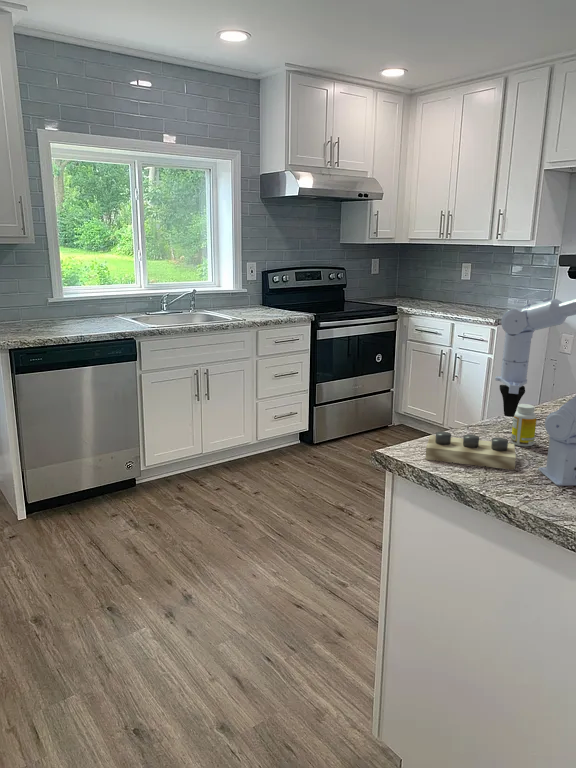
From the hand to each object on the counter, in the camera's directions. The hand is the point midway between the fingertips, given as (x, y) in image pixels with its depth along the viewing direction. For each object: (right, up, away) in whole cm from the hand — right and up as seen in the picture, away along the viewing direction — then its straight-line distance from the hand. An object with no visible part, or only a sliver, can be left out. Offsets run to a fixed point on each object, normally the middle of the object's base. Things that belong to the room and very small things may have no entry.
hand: (509, 415), depth 138 cm
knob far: (-15, -10, +4) cm, 18 cm away
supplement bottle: (+8, -8, +12) cm, 17 cm away
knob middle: (-9, -10, +2) cm, 14 cm away
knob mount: (-9, -10, +2) cm, 14 cm away
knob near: (-3, -11, 0) cm, 11 cm away
